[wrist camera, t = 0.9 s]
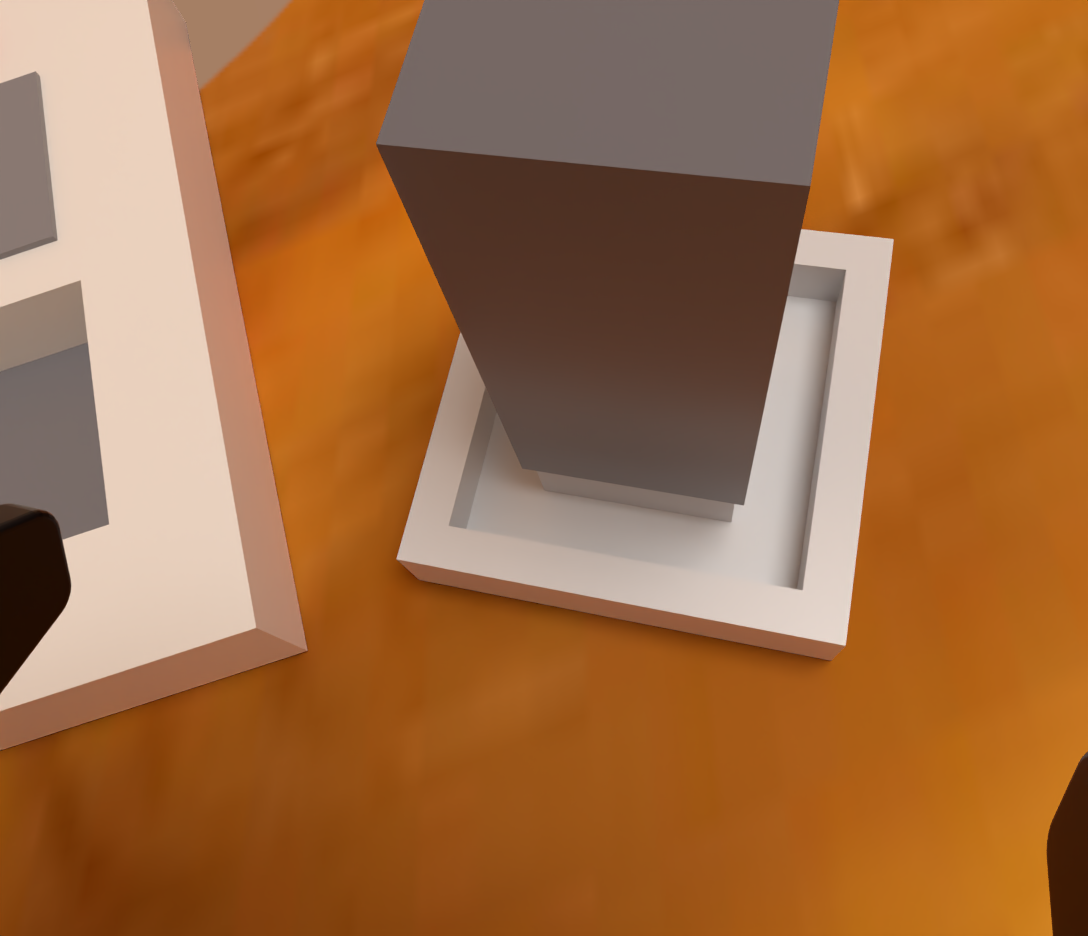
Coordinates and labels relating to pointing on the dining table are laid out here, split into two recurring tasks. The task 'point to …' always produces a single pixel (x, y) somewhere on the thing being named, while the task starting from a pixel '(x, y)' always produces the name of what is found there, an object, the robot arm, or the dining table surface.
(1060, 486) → the dining table surface
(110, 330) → the power strip
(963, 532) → the dining table surface
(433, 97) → the plug
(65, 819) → the dining table surface
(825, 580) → the tray
